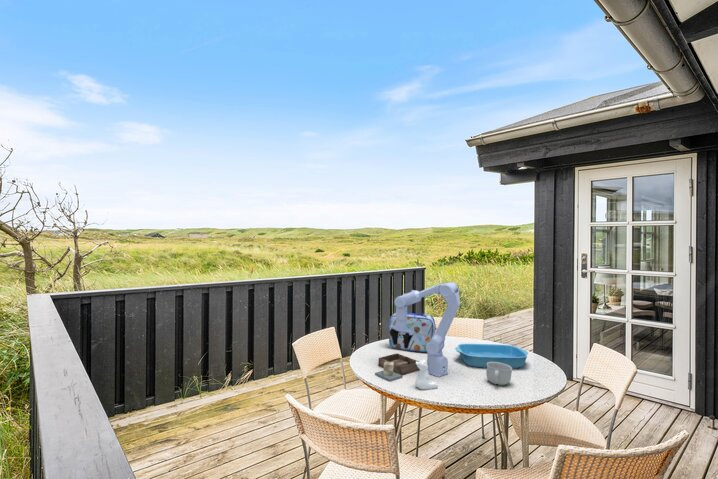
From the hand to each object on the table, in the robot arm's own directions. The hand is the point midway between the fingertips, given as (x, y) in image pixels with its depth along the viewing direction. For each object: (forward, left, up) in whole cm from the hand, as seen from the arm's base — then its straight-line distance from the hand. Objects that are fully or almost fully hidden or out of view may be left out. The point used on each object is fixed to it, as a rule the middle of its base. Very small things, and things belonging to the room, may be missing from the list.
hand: (400, 346), depth 188 cm
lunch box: (+14, -24, -10) cm, 30 cm away
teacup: (-43, -18, -10) cm, 48 cm away
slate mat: (-8, +16, -9) cm, 20 cm away
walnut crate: (-3, +4, -9) cm, 11 cm away
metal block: (-8, +16, -8) cm, 19 cm away
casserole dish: (-25, -42, -10) cm, 50 cm away
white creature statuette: (-26, +12, -10) cm, 30 cm away
